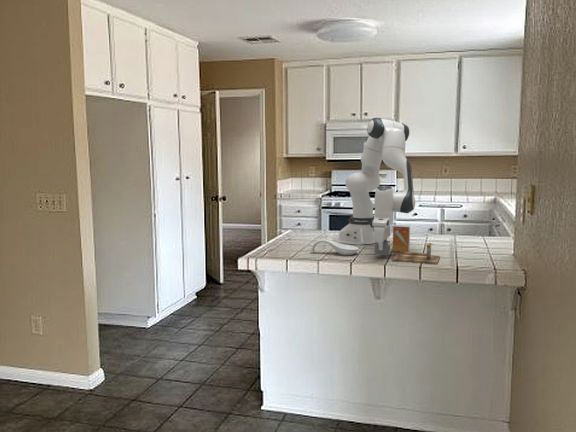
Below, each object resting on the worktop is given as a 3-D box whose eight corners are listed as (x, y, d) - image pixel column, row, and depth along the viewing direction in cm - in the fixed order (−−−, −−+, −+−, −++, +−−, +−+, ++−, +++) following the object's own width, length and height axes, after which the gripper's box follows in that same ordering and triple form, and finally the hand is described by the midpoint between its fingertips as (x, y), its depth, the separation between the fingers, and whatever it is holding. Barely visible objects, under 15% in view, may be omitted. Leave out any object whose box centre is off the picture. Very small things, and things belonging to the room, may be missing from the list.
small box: (392, 251, 263) (392, 226, 261) (393, 249, 269) (394, 224, 267) (408, 252, 260) (409, 226, 259) (409, 250, 266) (410, 225, 265)
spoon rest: (359, 252, 262) (359, 238, 261) (357, 257, 251) (357, 242, 250) (312, 251, 267) (312, 237, 266) (309, 255, 255) (309, 241, 255)
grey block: (374, 254, 248) (375, 241, 247) (377, 252, 252) (377, 239, 252) (387, 255, 246) (388, 242, 245) (389, 253, 250) (390, 240, 249)
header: (392, 261, 240) (392, 244, 239) (397, 255, 254) (397, 239, 253) (437, 264, 233) (437, 247, 232) (439, 257, 247) (440, 241, 246)
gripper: (381, 216, 257) (380, 244, 259) (371, 222, 239) (371, 252, 241) (394, 217, 255) (393, 245, 257) (385, 223, 236) (384, 253, 238)
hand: (382, 248), depth 249 cm, fingers closed on grey block, 5 cm apart
